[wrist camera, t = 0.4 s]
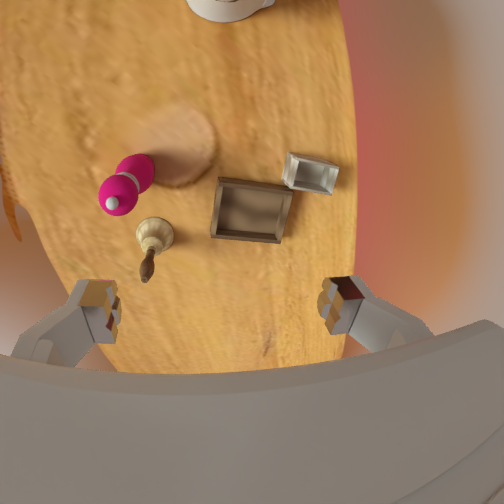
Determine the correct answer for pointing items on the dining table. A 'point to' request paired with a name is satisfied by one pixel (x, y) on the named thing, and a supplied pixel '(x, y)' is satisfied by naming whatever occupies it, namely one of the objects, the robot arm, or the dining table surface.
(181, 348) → the dining table surface
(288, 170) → the small crate
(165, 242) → the hand bell
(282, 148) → the dining table surface
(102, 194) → the pepper mill
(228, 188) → the big crate
